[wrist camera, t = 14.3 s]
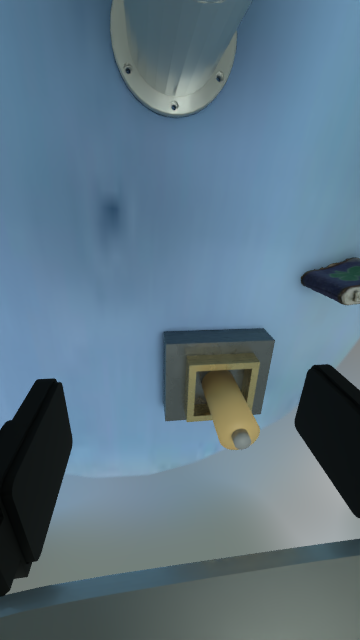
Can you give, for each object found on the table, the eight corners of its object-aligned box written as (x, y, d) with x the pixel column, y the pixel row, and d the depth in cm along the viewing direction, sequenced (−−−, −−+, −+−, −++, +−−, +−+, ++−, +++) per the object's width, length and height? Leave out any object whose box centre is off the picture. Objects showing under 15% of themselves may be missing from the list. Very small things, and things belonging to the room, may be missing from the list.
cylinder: (202, 369, 39) (224, 428, 29) (235, 368, 40) (267, 425, 30) (200, 396, 41) (219, 460, 31) (231, 394, 42) (260, 456, 32)
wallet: (359, 254, 39) (429, 272, 30) (358, 273, 40) (425, 296, 31) (299, 272, 39) (350, 296, 30) (300, 290, 40) (350, 318, 31)
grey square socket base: (163, 331, 40) (167, 353, 34) (263, 328, 42) (283, 348, 36) (163, 403, 46) (166, 433, 40) (251, 398, 48) (266, 425, 42)
